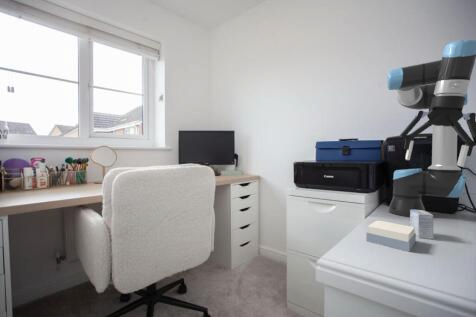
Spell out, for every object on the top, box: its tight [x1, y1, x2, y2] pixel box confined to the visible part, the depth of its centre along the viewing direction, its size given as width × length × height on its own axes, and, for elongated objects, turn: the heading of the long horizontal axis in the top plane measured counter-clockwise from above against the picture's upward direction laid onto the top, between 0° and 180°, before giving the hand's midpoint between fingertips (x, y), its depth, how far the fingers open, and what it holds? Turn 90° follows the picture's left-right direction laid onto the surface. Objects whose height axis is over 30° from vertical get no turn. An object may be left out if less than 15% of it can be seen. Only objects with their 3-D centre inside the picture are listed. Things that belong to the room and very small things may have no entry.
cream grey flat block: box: [365, 220, 417, 252], centre depth 74 cm, size 12×12×5 cm
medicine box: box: [409, 210, 434, 240], centre depth 81 cm, size 8×4×9 cm, turn 160°
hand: (432, 162), depth 73 cm, fingers open, 13 cm apart
